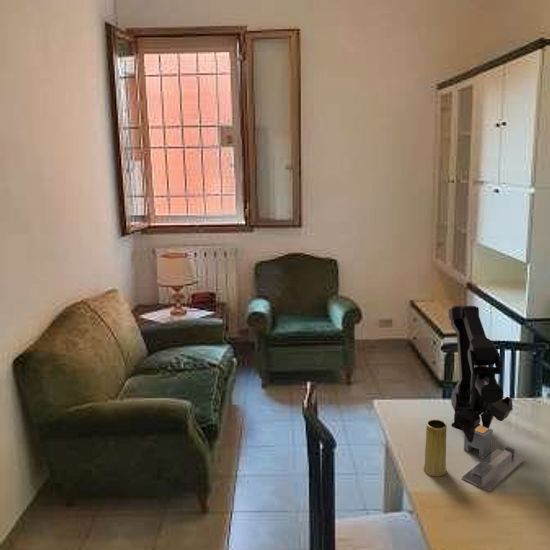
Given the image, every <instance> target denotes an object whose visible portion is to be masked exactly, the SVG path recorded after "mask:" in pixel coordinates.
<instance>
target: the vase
mask: <svg viewBox="0 0 550 550" xmlns="http://www.w3.org/2000/svg"><path fill="white" fill-rule="evenodd" d="M425 427H426V431H425V433H426V435H425V446H424V447H425V448H424V465H423V471H424V472H425V474H427V475H429V476H432V477H442V476H445V475H446V473H447V465H446V464H447V463H446V462H447V459H446V458H447V423H446V422H445V421H444V420H440V419H429V420H428V421H427V422H426V426H425Z"/></svg>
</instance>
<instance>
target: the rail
mask: <svg viewBox="0 0 550 550" xmlns="http://www.w3.org/2000/svg"><path fill="white" fill-rule="evenodd" d="M515 451H516V450H515V448H513V447H509V446H505V448H504V450H502V449H499V448H496V449H495V450H494V451H493V452H490V453H489V454H488V456H485V457H484V458H483V459H482V460H481V461H480V462H479V463H477V465H475V466H473V468H472V469H470V470H469V471H468V472H467V473H465V474H464V475H463V476H461V480H463V481H465V482H468V483H470V484H471V485H474V486H476V487H478V488H481V489H483V490H485V491H487V492H489V493H490V492H491V491H493V490H494V489H495V488H497V486H498V485H499V484H501V483H502V482H503V481H504V480H505V479H506V478H507V477H509V475H510V474H511V473H513V472H514V471H515V470H516V469H517V468H518V467H520V465H522V464H523V463H524V462H525V459H524V458H522V457H520V456H517V455H515V453H516V452H515Z"/></svg>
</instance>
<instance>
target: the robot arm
mask: <svg viewBox="0 0 550 550" xmlns="http://www.w3.org/2000/svg"><path fill="white" fill-rule="evenodd" d="M448 319H449V321H450V326H451V328H452V329H453V330H454V332H455V333H456V341H457V353H458V354H457V356H458V370H459V380H458V381H457V383H456V385H455V387H454V389H455V391H454V392H453V394H452V396H451V399H450V401H451V402H450V404H451V407H452V408H453V411H454V415H453V422H452V423H451V426H452V427H455V428H457V429H460V430H462V431H463V434H464V437H465V436H466V438H467V440H468V442H470V443H472V442H473V438H474V433H475V428H477V427H478V426H480V425H481V422H482V426H484V427H487V428H489V429H490V428H491V427H490V426H491V424H492V421H493V419H494V418H496V420H497V421H499V422H502V421H504V420H505V419H507V418H508V417H509V415H510V413H511V412H512V411H514V408H513V407H514V406H513V399H512V398H511V397H509V396H506V397H504V398H503V394H504V392H503V389H502V387H501V386H500V384H499V383H498V381H497V379H496V375H501V374H502V371H501V370H502V368H503V366H502V359H501V355H500V352H499V350H498V349H497V348H496V345H495V344H494V341H493V340H491V339H490V338H488V337H487V336H486V332H485V330H484V327H483V324H482V321H481V317H480V309H479V306H475V305H452V307H451V308H449V309H448Z"/></svg>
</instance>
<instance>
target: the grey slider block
mask: <svg viewBox="0 0 550 550" xmlns="http://www.w3.org/2000/svg"><path fill="white" fill-rule="evenodd" d="M493 433H494V429H491V428H490V427H489V428H487V427H484V426H483V425H481V424H480V426H478V427H477V428H475V433H474V438H473V442H472V443H470V442H468V440H467V438H466V436H465V435H464V436H463V437H464V439H463V451H464V452H467V453H468V452H470V451H471V450H472V449H473V448H474V449H475V450H476V449H477V450H478V457H479V458H482V459H485V458H486V457H487V455H490V454H491V453H492V447H493V445H492V444H493Z"/></svg>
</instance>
